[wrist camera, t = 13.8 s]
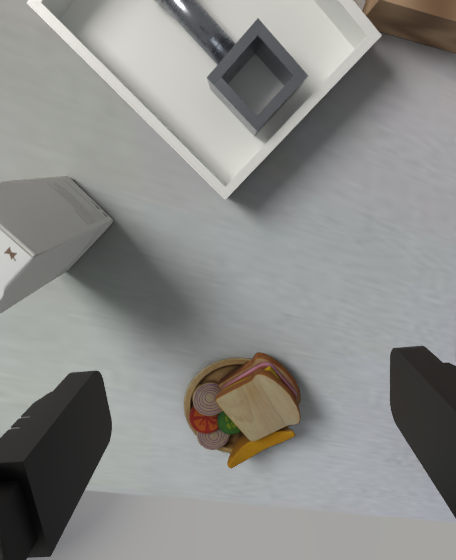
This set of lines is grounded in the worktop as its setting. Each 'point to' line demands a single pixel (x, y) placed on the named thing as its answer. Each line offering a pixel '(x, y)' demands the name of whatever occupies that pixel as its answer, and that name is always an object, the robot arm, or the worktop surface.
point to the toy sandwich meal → (242, 406)
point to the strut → (238, 59)
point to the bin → (198, 65)
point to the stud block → (416, 20)
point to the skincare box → (43, 233)
